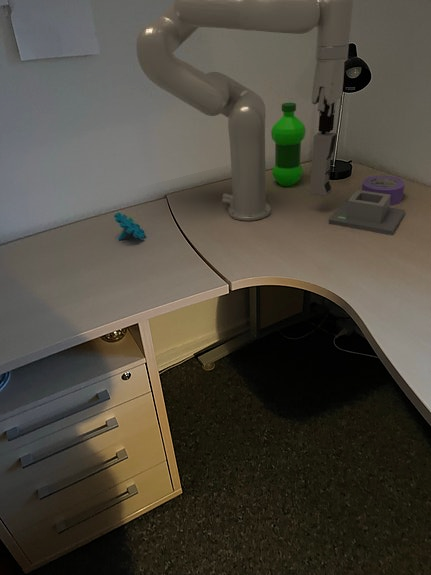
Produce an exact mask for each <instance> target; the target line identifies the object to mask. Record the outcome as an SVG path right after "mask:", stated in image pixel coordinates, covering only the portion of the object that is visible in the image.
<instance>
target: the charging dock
mask: <svg viewBox="0 0 431 575" xmlns="http://www.w3.org/2000/svg"><path fill="white" fill-rule="evenodd" d="M390 197H391V195H389V194H383V193H376V192H369V191H362V189H357V190H356V191H355V192H354V193H353V194H352V196H351V197H349V199H348V200H344V202H342V204H341V205H340V206H339V207H338V208H337V209H336V211H335V212H334V213H333V214H332V215H331V216H330V217H329V219H328V224H329V225H333V226H334V225H335V226H339V227H340V226H341V227H347V228H352V229H355V230H356V229H357V230H361V231H362V230H363V231H367V232H373V233H378V234H383V235H389V236H393V234H394V232H395V231H396V229H397V227H398V226H399V224H400V222H401V220H402V219H403V217H404V216H405V213H406V209H403V208H402V209H401V208H396V207H390V205H389V203H390Z"/></svg>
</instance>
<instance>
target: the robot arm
mask: <svg viewBox="0 0 431 575" xmlns="http://www.w3.org/2000/svg"><path fill="white" fill-rule="evenodd" d="M353 5H354V0H174V1H173V2H172V3H171V4H170V5H169V6H168V7H167V8H166V9H165V10H164V11H163V12H162V13H161V14H160V15H159V16H158V17H157V18H156V19H155V20H153V21H150V22H148V23H146V24H145V25H143V27H142V28H141V29H140V31H139V32H138V35H137V37H136V47H135V49H136V55H137V60H138V63H139V66H140V68H141V70H142V71H143V73H144V75H145V76H146V77H147V78H148V79H149V80H150V81H151V82H152V83H153V84H154V85H156V86H158V87H159V88H161V89H162V90H164V91H166V92H167V93H169V94H171V95H172V96H174V97H176V98H177V99H179V100H180V101H182V102H184V103H186V104H187V105H189V106H191V108H194V109H196V110H198V111H199V112H200V113H202V114H204V115H205V116H210V117H215V116H216V117H217V116H218V115H220V114H221V115H223V116H224V117H226V118H228V119H227V120H228V121H227V127H228V128H227V129H228V138H229V139H228V140H229V150H230V166H231V170H230V171H231V188H232V191H231V192H232V194H230V193H226V192H225V193H223V195H222V199H221V200H222V203H224V204H228V205H229V206H228V208H227V212H228V215H229V217H231V218H232V219H235V220H239V221H246V222H247V221H248V222H249V221H258V220H261V219H264V218H267V217H268V216H269V215H270V214H271V212H272V206H271V205H270V204H269V203H268V202H266V200H267V199H266V196H267V195H266V193H267V192H266V105H265V102H264V99H263V98H262V97H261V96H260V95H259V94H258V93H256V92H255V91H253V90H251V89H249V88H248V87H246V86H245V85H243V84H241V83H239V82H238V81H236V80H234V79H233V78H231V77H230V76H228V75H226V74H224V73H221V72H219V71H218V72H217V71H210V72H207V73H205V72H203V71H201V70H199V69H198V68H196V67H194V66H193V65H192V64H190V63H188V62H186V61H184V60H181V59H180V58H178V57H177V56H175V54H174V52H175V51H176V50H178V48H179V47H180V46H182V45H183V43H184V42H185V41H186V40H188V39H189V38H190V37H191V36H192V35H193V34H194V33H195V32H196V31H197V30H198V29H199V28H208V29H210V28H216V29H226V30H227V29H230V30H241V31H248V32H249V31H250V32H251V31H253V32H254V31H255V32H266V33H267V32H268V33H278V34H292V35H293V34H295V35H297V34H298V35H303V34H304V35H305V34H307V33H309V32H311V31H312V30H313V29H314V28H317V35H316V37H317V38H316V50H315V51H316V52H315V62H316V65H315V70H314V77H313V84H312V85H313V86H312V93H311V94H312V95H311V104H313V105H317V111H318V112H319V119H318V120H319V121H318V132H329V133H331V131H333V130H334V125H335V113H336V106H337V103H338V100H340V99H341V97H342V96H343V90H344V89H343V88H344V81H345V80H344V78H345V76H344V75H345V61H348V59H349V48H350V47H349V45H350V36H351V35H350V34H351V26H352V17H353V16H352V15H353V8H354V6H353ZM325 102H327V103H325Z"/></svg>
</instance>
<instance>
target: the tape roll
mask: <svg viewBox="0 0 431 575" xmlns="http://www.w3.org/2000/svg"><path fill="white" fill-rule="evenodd" d="M361 190H362V191H369V192H376V193H383V194H389V195H391V197H390V203H389V206H393V205H396V204H397V205H398V204H399V203H401V202H402V201H403V196H404V191H405V180H403V179H402V178H400V177H397V176H392V175H385V174H384V175H371V176H368V177H366V178H364V179H363V180H362V186H361Z"/></svg>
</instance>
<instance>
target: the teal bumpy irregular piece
mask: <svg viewBox="0 0 431 575" xmlns="http://www.w3.org/2000/svg"><path fill="white" fill-rule="evenodd" d="M113 217H114V218H115V219H114V220H115V222H116V223H119V227H120V228H121V229H122V230H121V234H120V235H119V236H118V238H117V239H118V240H119V241H122V240H123V239H124V237H125V236H126V235H127V234H129V235H131V233H132V236H133V237H134V238H136V239H138V238H139V239H140V240H143V239H144V238H145V237H146V236H147V234H145V230H144V229H143V228H141V226H140V224H139V223H135V221H134V219H133V217H132V216H127V215H126V214H124V213H123V214H122V213H121V212H117V213H115V214H114V215H113Z"/></svg>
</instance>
